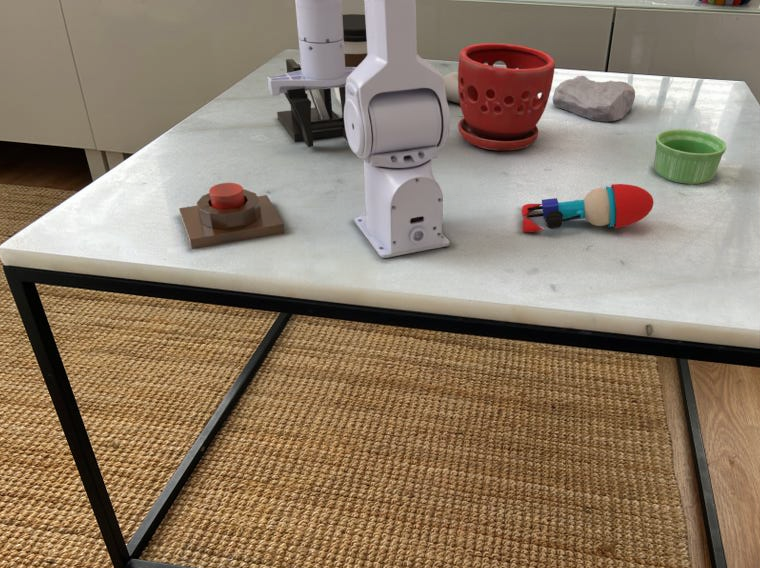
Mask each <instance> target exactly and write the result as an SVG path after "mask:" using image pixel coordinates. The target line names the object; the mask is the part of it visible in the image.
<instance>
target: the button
mask: <svg viewBox="0 0 760 568" xmlns="http://www.w3.org/2000/svg"><path fill="white" fill-rule="evenodd" d="M243 189H244V187H243V186H242V185H241V184H238V183H235V182H222V183H218V184H214V185H213V186H211V187H210V188H209V190H208V193H209V194H210V199H211V205H212V207H213V208H215V209H223V210H228V209H234V208H238V207H241V206H243V205H245V197H244V191H243Z"/></svg>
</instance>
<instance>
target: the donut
mask: <svg viewBox="0 0 760 568" xmlns="http://www.w3.org/2000/svg"><path fill="white" fill-rule="evenodd" d="M443 78H444V81H445V90H446V99H447V101H449V102H451V103H454V104H459V105H460V101H459V93H458V70H457V71H453V72H449V73H447V74H446V75H444V76H443Z"/></svg>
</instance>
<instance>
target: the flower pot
mask: <svg viewBox="0 0 760 568" xmlns="http://www.w3.org/2000/svg"><path fill="white" fill-rule="evenodd" d="M497 62H502V63H504V65H505V67H503V66H502V67H501V66H494V64H495V63H497ZM486 63H487V64H486ZM457 67H458V68H457V71H458V93H459V101H460V104H459V105H460V106H459V107H460V109H461V113H462V116H463V118H461V119H460V120H459V122H458V124H457V129H458V132H459V134H460V135H461V137H462V138H463V140H465V141H466V142H468V143H469V144H471V145H473V146H476V147H478V148H481V149H486V150H488V151H489V150H490V151H499V152H502V151H503V152H504V151H515V150H516V151H517V150H521V149H523V148H527V147H528V146H530V145H532V144H533V143H534V142H535V141H536V140H537V138H538V136H539V133H540V130H539V127H538V126H537V125H538V123H539V121H540V120H541V118H542V116H543V115H544V112H545V110H546V107H547V104H548V103H549V99H550V94H551V91H552V86H553V80H554V77H555V69H556V61H555V59H554V58H553V57H552V56H551V55H549V53H546V52H545V51H542V50H539V49H536V48H533V47H529V46H524V45H518V44H512V43H500V42H499V43H498V42H489V43H488V42H487V43H486V42H485V43H476V44H471V45H468V46H467V45H466V47H464V48H462V49H461V50H460V52H459V57H458V66H457ZM539 94H541V95H540V97H539Z"/></svg>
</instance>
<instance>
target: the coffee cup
mask: <svg viewBox="0 0 760 568" xmlns="http://www.w3.org/2000/svg"><path fill="white" fill-rule="evenodd" d="M342 16H343V34H344V52H345V67H357V66H358V65H359V64H360V63H361V62H362V61H363V60H364V59H365V58H366V57H367V55H368V53H367V37H366V20H365V14H360V13H347V14H342ZM333 90H334V93H335V98H336V100H337V101H338V102H339V104H340V105H341V99H340V92H339V87H338V88H333Z"/></svg>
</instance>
